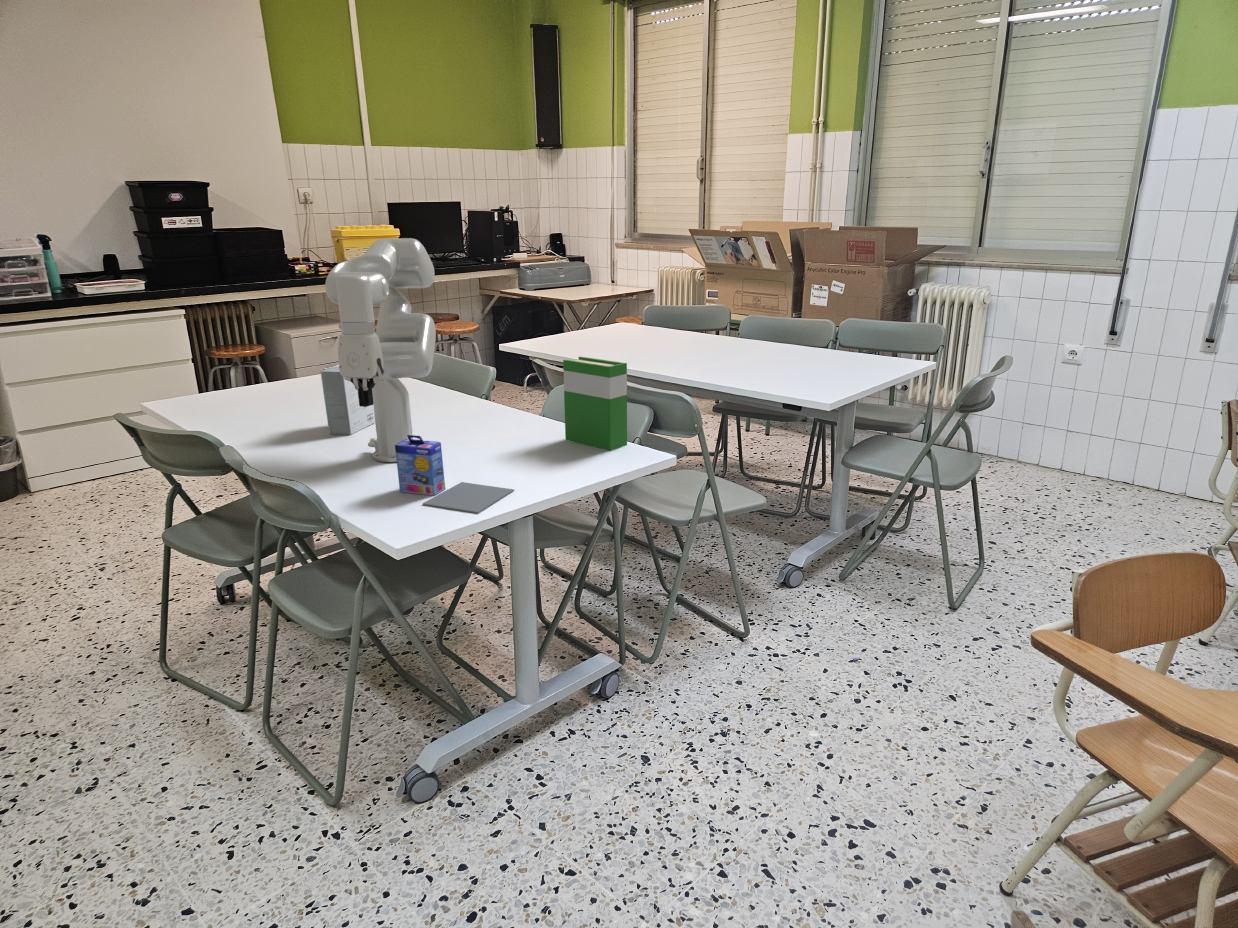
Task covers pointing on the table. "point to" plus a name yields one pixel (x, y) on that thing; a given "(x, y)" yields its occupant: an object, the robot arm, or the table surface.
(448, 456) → the table surface
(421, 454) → the ink cartridge box
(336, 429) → the hard drive box
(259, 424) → the table surface
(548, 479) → the table surface
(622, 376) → the hardback book
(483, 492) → the mat
